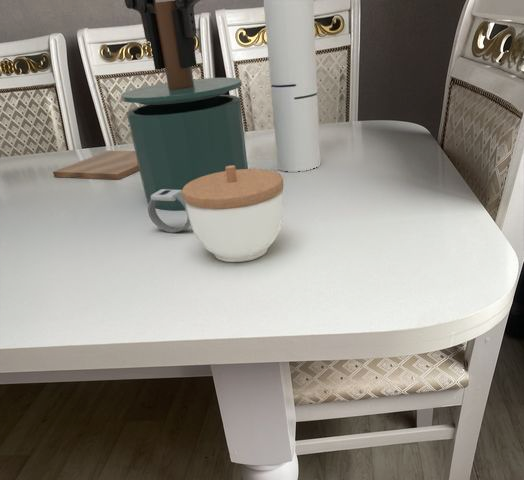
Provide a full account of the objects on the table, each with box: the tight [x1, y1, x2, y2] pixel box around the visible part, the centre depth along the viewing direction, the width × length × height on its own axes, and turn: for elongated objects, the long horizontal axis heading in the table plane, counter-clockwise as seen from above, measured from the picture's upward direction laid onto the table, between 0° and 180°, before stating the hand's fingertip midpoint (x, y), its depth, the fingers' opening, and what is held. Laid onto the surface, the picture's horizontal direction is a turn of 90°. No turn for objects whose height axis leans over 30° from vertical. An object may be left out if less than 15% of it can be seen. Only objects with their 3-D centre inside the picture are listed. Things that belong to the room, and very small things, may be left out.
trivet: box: [52, 150, 140, 181], centre depth 102 cm, size 16×16×1 cm
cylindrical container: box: [263, 0, 321, 173], centre depth 81 cm, size 7×7×25 cm
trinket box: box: [182, 165, 285, 263], centre depth 57 cm, size 11×11×9 cm
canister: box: [126, 94, 249, 211], centre depth 77 cm, size 16×16×12 cm
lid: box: [120, 0, 243, 106], centre depth 71 cm, size 17×17×11 cm
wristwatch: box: [147, 189, 191, 234], centre depth 66 cm, size 6×3×5 cm, turn 66°
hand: (175, 67), depth 72 cm, fingers closed on lid, 4 cm apart
